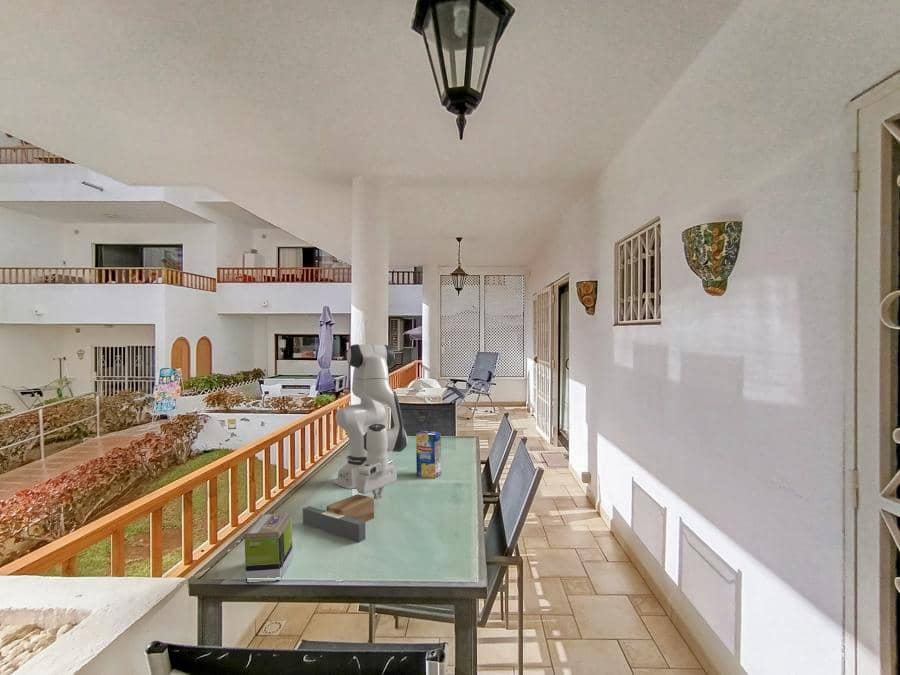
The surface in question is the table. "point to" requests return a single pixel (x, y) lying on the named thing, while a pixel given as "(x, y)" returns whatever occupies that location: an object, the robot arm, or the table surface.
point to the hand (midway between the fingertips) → (377, 498)
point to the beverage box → (428, 454)
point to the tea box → (268, 546)
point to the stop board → (334, 523)
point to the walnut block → (354, 507)
